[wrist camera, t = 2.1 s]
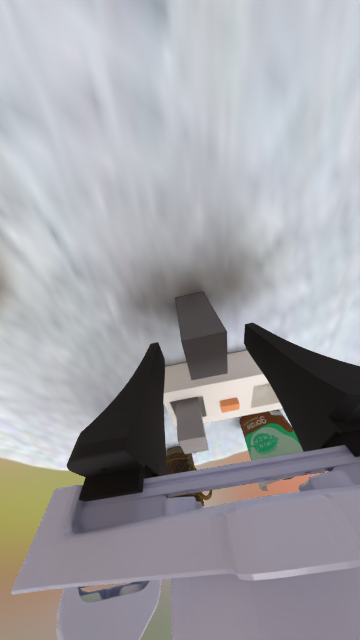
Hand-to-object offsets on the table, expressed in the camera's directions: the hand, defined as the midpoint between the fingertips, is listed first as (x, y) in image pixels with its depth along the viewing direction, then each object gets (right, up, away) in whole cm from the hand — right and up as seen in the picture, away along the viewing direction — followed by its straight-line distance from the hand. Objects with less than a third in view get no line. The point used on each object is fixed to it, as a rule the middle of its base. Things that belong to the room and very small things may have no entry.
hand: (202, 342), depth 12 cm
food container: (+14, -19, +20) cm, 31 cm away
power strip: (+5, -7, +11) cm, 14 cm away
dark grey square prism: (0, +3, +4) cm, 5 cm away
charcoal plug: (-1, -9, +11) cm, 14 cm away
